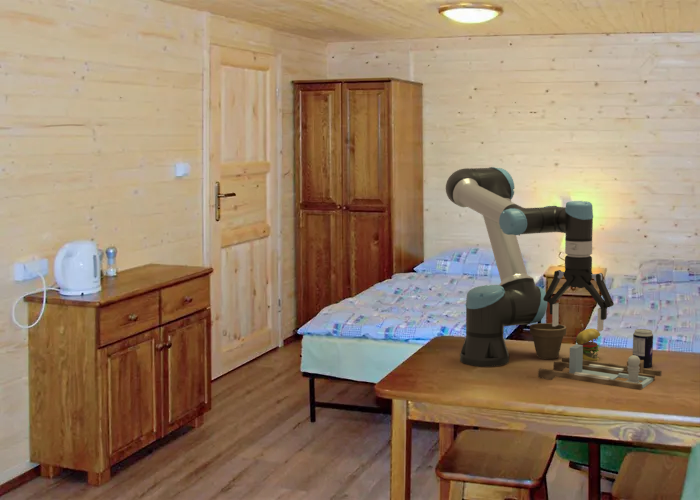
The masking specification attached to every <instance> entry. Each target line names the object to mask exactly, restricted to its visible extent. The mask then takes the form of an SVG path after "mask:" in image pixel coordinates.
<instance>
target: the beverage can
mask: <svg viewBox="0 0 700 500" xmlns="http://www.w3.org/2000/svg"><path fill="white" fill-rule="evenodd" d="M632 336H633V337H632V355H636V356H638V357H639V359H640V360H644V368H646V369H652V368H653V352H654V347H653V346H654V334H653V331H652V330H651V329H646V328H636V329H634V332H633V335H632Z"/></svg>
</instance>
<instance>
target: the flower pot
mask: <svg viewBox="0 0 700 500" xmlns="http://www.w3.org/2000/svg"><path fill="white" fill-rule="evenodd" d="M529 334H530V335H531V337H532V340H533V344H534V350H535V353H536V356H537V357H538V358H539V359H544V360H554V359H557V358H559V354H560V352H561V351H560V350H561V347H562V343H563V339H564V336H566V334H567V326H566V325H564V324H563V325H562V324H560V323H558V325H557V326H555V327H554V326H552V322H549V323H547V322H542V323H538V322H537V323H531V324H529Z"/></svg>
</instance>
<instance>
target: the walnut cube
mask: <svg viewBox="0 0 700 500" xmlns="http://www.w3.org/2000/svg"><path fill="white" fill-rule="evenodd" d="M626 366H627V367H628V366H629V364H628V360H627V361H626ZM638 366H639V367H640V369H639V370H640V372H638V373H643V370H644V360H640V364H639V365H638ZM627 369H628V368H627Z"/></svg>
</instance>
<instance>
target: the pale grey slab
mask: <svg viewBox="0 0 700 500" xmlns="http://www.w3.org/2000/svg"><path fill="white" fill-rule="evenodd" d="M582 364H583V345H578V344H577V343H576V344H574V345H572V346H570V347H569V368H568V369H569V370H568V373H573V374H574V373H575V372H580V373H587V374H593V375H600V376H606V377H610V379H612V380H617V379H618V378H620V379H627V380H628V374H623V373H619V374H618V375H616V374H610V373H603V372H596V371H590V370H583V369H582ZM618 380H619V379H618ZM638 380H639V381H640V382H641V383H638V384H642V389H641V390H643V389H644V388H645V387H647V386H648V385H650V384H651V383H653V382H654V381H653V378H650V377H644V376H638ZM619 381H621V380H619ZM624 381H625V382H627V381H626V380H624ZM633 382H634V381H633ZM633 382H632V383H633Z"/></svg>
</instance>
